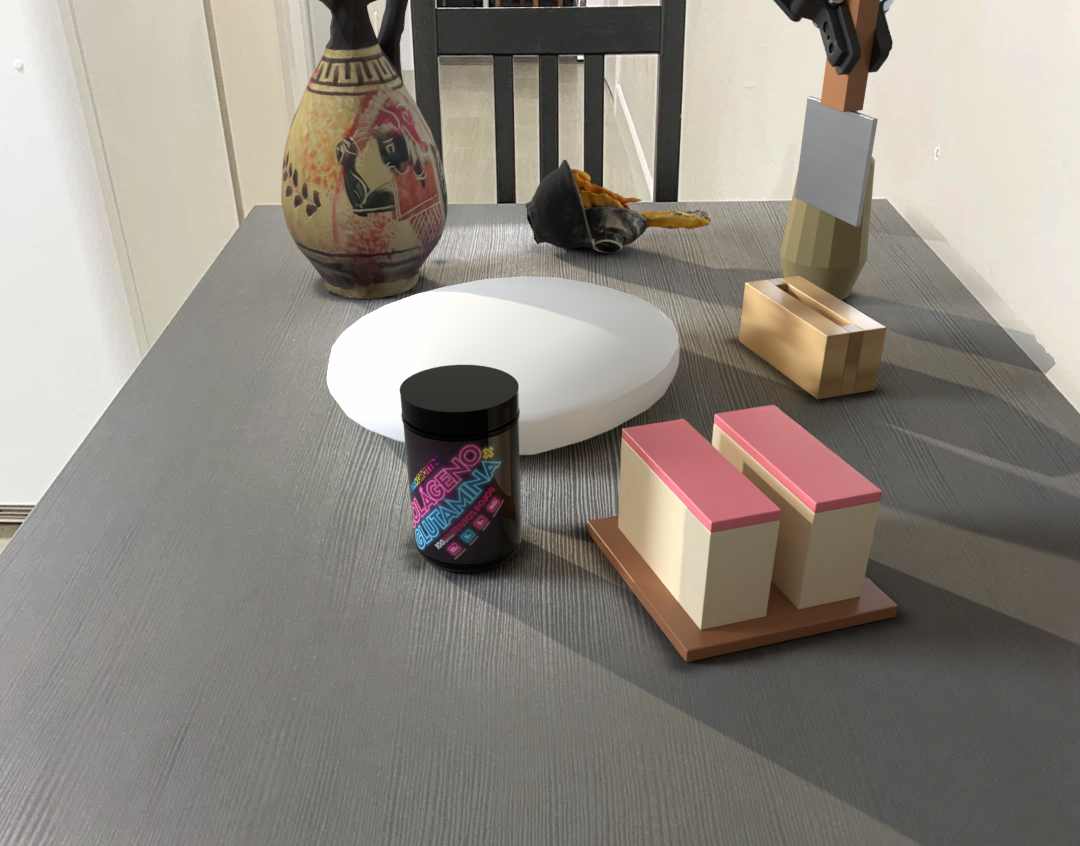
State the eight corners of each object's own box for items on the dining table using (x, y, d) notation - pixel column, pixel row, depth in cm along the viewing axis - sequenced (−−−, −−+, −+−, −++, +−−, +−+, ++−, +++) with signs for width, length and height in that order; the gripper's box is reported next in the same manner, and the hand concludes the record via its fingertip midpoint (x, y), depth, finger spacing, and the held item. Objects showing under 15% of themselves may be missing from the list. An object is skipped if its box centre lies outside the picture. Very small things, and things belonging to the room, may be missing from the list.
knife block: (738, 341, 95) (744, 282, 92) (791, 333, 96) (799, 275, 93) (817, 399, 85) (827, 336, 82) (875, 390, 86) (887, 327, 83)
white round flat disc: (561, 441, 68) (245, 364, 79) (566, 527, 73) (266, 443, 84) (739, 271, 85) (457, 226, 96) (734, 350, 90) (466, 299, 100)
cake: (586, 531, 69) (588, 421, 65) (769, 498, 72) (783, 391, 68) (686, 663, 58) (697, 542, 54) (896, 617, 62) (924, 499, 57)
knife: (787, 197, 86) (813, -16, 77) (805, 195, 86) (833, -17, 77) (848, 227, 79) (884, -2, 70) (867, 225, 80) (906, -3, 71)
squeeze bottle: (811, 275, 108) (842, 66, 97) (878, 295, 103) (918, 78, 92) (757, 292, 104) (781, 77, 93) (823, 314, 100) (858, 90, 88)
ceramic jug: (348, 324, 99) (299, -86, 80) (267, 282, 108) (205, -94, 89) (497, 284, 107) (484, -96, 88) (409, 248, 116) (381, -102, 97)
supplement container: (393, 544, 68) (376, 383, 62) (480, 511, 71) (473, 355, 65) (454, 590, 64) (443, 423, 58) (544, 553, 67) (543, 390, 61)
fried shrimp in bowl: (515, 188, 117) (674, 123, 115) (550, 291, 120) (706, 229, 118) (511, 173, 109) (683, 102, 106) (549, 284, 112) (717, 217, 109)
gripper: (732, -215, 71) (800, 31, 70) (914, -216, 74) (982, 19, 73) (692, -115, 78) (752, 110, 77) (859, -120, 81) (920, 95, 80)
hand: (864, 64), depth 75 cm, fingers closed on knife, 1 cm apart
